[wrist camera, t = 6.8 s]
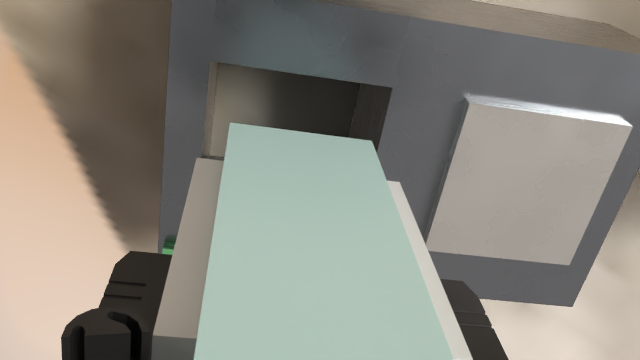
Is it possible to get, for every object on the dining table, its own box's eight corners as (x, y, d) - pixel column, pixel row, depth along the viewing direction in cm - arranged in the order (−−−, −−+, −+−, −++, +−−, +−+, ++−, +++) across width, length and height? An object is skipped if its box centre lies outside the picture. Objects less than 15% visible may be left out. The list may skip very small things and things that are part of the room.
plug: (229, 122, 16) (170, 516, 6) (371, 140, 17) (516, 526, 7) (216, 243, 18) (154, 692, 8) (344, 255, 18) (429, 688, 9)
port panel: (193, -47, 20) (170, -20, 16) (608, 24, 23) (697, 66, 18) (176, 197, 25) (154, 276, 20) (523, 236, 27) (576, 313, 23)
